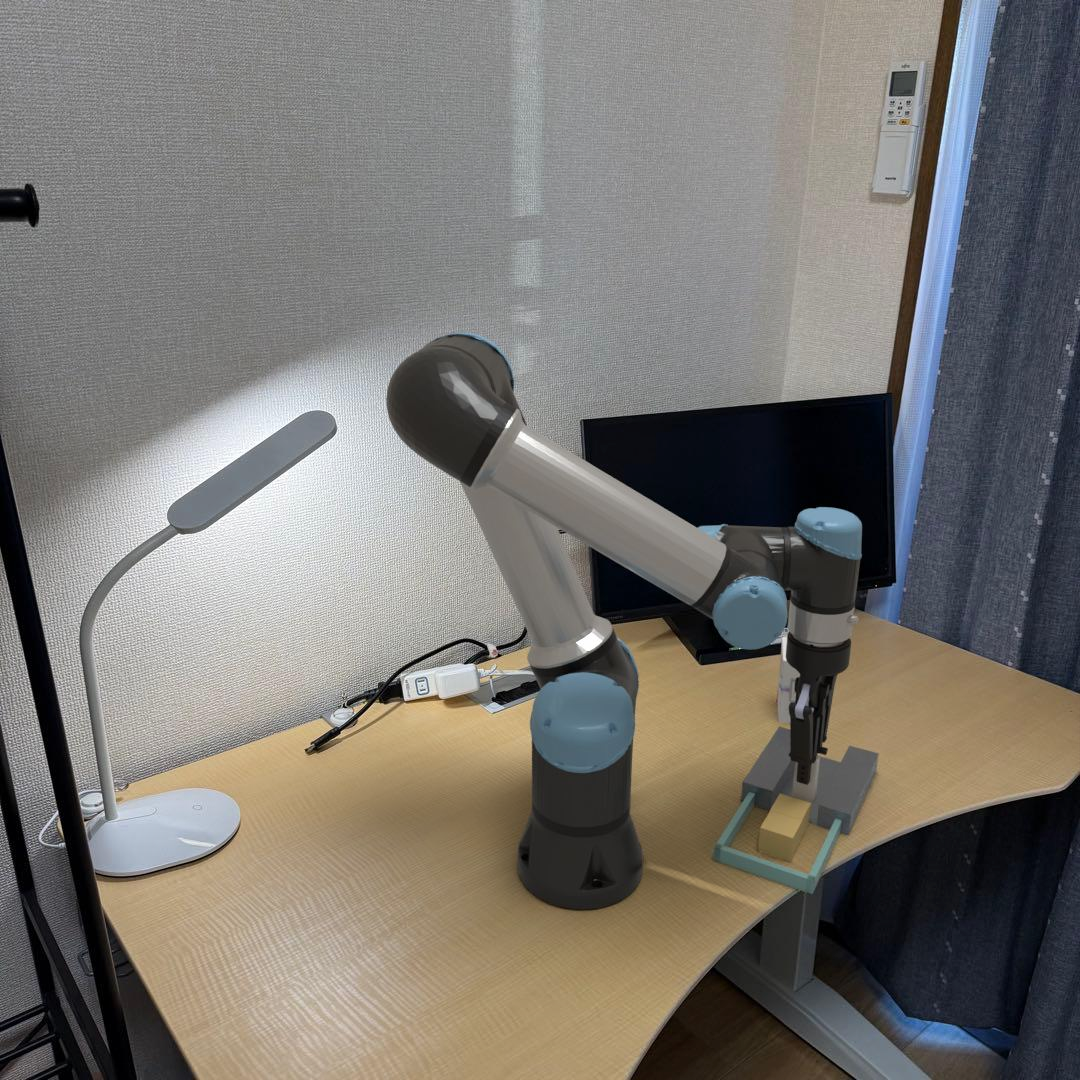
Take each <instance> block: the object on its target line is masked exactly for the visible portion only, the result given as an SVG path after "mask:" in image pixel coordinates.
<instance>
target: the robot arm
mask: <svg viewBox="0 0 1080 1080" xmlns="http://www.w3.org/2000/svg"><path fill="white" fill-rule="evenodd" d="M514 390H515V378H514V373H513V369H512V365H511V363H510V361H509V359H508V358H507V355H506V354H505V352H503V350H502V349H501V348H500V347H499V346H498V345H497V344H496V343H494V342H493V341H492V340H490V339H488V338H486V337H485V336H482V335H479V334H476V333H471V332H455V333H449V334H445V335H443V336H438V337H437V338H435V339H434V340H432V341H429V342H427V343H426V344H425V345H424V346H423V347H422V348H420V349H419V350H417V351H415V352H413V353H412V354H410V355H409V356H407V357H406V358H404V360H402V361H401V363H399V365H398V366H397V368H396V369H395V370H394V371H393V373H392V375H391V377H390V380H389V382H388V385H387V390H386V398H385V400H386V410H387V411H386V412H387V416H388V419H389V422H390V424H391V426H392V428H393V430H394V431H395V433H396V434H397V436H398V437H399V438H400V440H401V441H402V442H403V443H404V444H405V445H406V446H407V447H408V448H409V449H410V450H411V451H413V452H414V453H415V454H416V455H418V456H419V457H420V458H422V459H424V461H426V462H428V463H429V464H430V465H433V466H434V467H436V468H437V469H439V470H440V471H442V472H443V473H445V474H447V475H449V477H452V478H453V479H455V480H457V481H459V484H460V485H461V488H462V490H463V492H464V494H465V496H466V499H467V501H468V503H469V505H470V507H471V509H472V512H473V514H474V516H475V518H476V520H477V523H478V525H479V527H480V529H481V531H482V534H483V535H484V538H485V540H486V542H487V545H488V548H489V549H490V551H491V554H492V556H493V559H494V560H495V563H496V565H497V567H498V570H499V571H500V574H501V576H502V579H503V580H504V582H505V585H506V586H507V589H508V591H509V594H510V596H511V597H512V600H513V602H514V604H515V607H516V609H517V611H518V613H519V616H520V617H521V620H522V622H523V624H524V627H525V629H526V631H527V633H528V636H529V638H530V640H531V642H532V643H531V645H530V648H529V650H528V652H527V656H526V658H527V663H528V664H529V666H530V668H531V671H532V673H533V675H534V678H535V681H536V682H537V684H538V687H539V688H540V690H538V692H537V693H536V696H535V697H534V700H533V703H532V711H531V714H530V720H529V728H530V729H529V730H530V736H531V811H530V814H529V817H528V819H527V822H526V825H525V827H524V830H523V832H522V835H521V838H520V841H519V843H518V845H517V846H518V847H517V873H518V877H519V878H520V881H521V882H522V884H523V886H524V887H525V888H526V889H527V890H528V891H529V892H530V893H531V894H532V895H534V896H535V897H537V898H538V899H540V900H542V901H544V902H546V903H548V904H550V905H553V906H557V907H560V908H563V909H564V908H565V909H572V910H592V909H599V908H603V907H608V906H611V905H613V904H616V903H619V902H620V901H622V900H623V899H625V898H627V897H628V896H629V895H630V894H632V893H633V892H634V891H635V890H636V888H637V887H638V885H639V883H640V881H641V878H642V875H643V864H644V863H643V860H644V859H643V857H644V856H643V855H644V854H643V848H642V844H641V842H640V841H639V840H640V839H639V836H638V834H637V831H636V827H635V825H634V822H633V821H634V820H633V819H632V816H631V800H632V799H631V796H632V793H631V792H632V773H633V769H632V767H633V751H634V749H633V748H634V737H635V732H636V731H635V730H636V707H637V697H638V693H639V688H640V687H639V686H640V685H639V683H640V681H639V677H640V676H639V671H638V667H637V663H636V659H635V657H634V655H633V653H632V651H631V649H630V648H629V647H628V646H627V645H626V643H625V642H624V641H623V640H621V638H620V637H618V636H617V634H616V632H615V629H614V627H613V625H612V623H611V621H610V620H609V619H606V618H604V617H601V616H598V615H596V614H595V612H594V611H593V609H592V606H591V604H590V602H589V598H588V597H587V595H586V591H585V590H584V587H583V585H582V582H581V580H580V578H579V576H578V573H577V571H576V569H575V566H574V564H573V561H572V559H571V557H570V555H569V552H568V550H567V548H566V545H565V543H564V541H563V539H562V536H561V533H560V532H559V529H560V530H561V531H563V532H564V533H566V534H568V535H569V536H571V537H573V538H575V539H576V540H578V541H580V542H581V543H583V544H585V545H587V546H589V547H590V548H592V549H593V550H595V551H597V552H598V553H600V554H602V555H603V556H605V557H607V558H609V559H610V560H612V561H614V562H615V563H617V564H619V565H621V566H622V567H624V568H625V569H627V570H629V571H631V572H633V573H634V574H636V575H637V576H639V577H640V578H643V579H644V580H646V581H648V582H649V583H651V584H653V585H655V586H656V587H658V588H660V589H661V590H663V591H665V592H667V594H670V595H672V596H673V597H675V598H677V599H678V600H680V601H682V602H683V603H685V604H687V605H688V606H690V607H692V608H694V610H697V611H698V612H700V613H702V614H703V615H705V616H706V617H708V618H709V619H711V620H713V625H714V627H715V628H716V629H717V631H718V633H719V635H720V636H721V638H722V639H723V640H724V641H725V642H726V643H727V644H729V645H731V646H733V647H735V648H737V649H743V650H758V649H763V648H766V647H767V646H768V647H769V645H771V644H773V643H774V642H775V641H776V640H777V639H779V637H780V636H782V635H783V632H784V630H785V628H786V626H787V629H788V632H787V636H786V637H787V646H786V660H787V662H788V663H789V665H790V666H792V667H793V668H795V669H796V670H797V671H798V672H799V673H800V677H797V678H796V680H795V688H794V690H795V692H796V700H795V703H793V702H791V703H790V705H789V714H790V723H789V724H790V725H789V727H790V728H789V729H790V753H789V757H790V759H791V761H794V762H795V770H794V781H793V792H792V797H793V798H796V799H799V800H802V801H806V802H809V803H811V805H813V803H814V802H815V800H816V793H817V783H818V773H819V763H820V755H824V756H826V755H827V754H828V751H829V749H828V748H827V747H823V743H826V741H827V740H828V738H827V737H828V736H827V735H828V729H829V728H828V727H829V723H830V716H831V710H832V703H833V699H834V697H833V696H834V691H835V686H836V683H837V682H836V680H837V677H838V675H839V674H841V673H843V672H845V671H846V670H847V669H848V667H849V665H850V659H851V658H850V657H851V647H852V640H851V636H852V634H853V626H854V625H855V624H858V623H859V616H858V615H854V612H855V608H856V607H855V606H856V598H857V588H858V581H859V572H860V566H861V565H860V564H861V560H862V556H863V553H862V539H863V537H862V536H863V524H862V521H861V520H860V518H859V517H858V516H857V515H855V514H854V513H853V512H850V511H848V510H845V509H841V508H836V507H827V506H823V507H822V506H819V507H816V508H811V507H810V508H805V509H803V510H802V511H800V512H799V513H798V515H797V518H796V521H795V523H794V526H786V527H785V526H784V527H778V526H776V527H775V526H774V527H772V526H751V525H750V526H749V525H747V526H745V525H728V524H726V523H723V524H719V525H700V526H698V527H696V526H695V525H693V524H691V523H689V522H688V521H686V520H685V519H683V518H681V517H679V516H678V515H676V514H675V513H673V512H672V511H669V510H668V509H666V508H664V507H663V506H661V505H660V504H658V503H657V502H654V501H653V500H652V499H650V498H648V497H646V496H644V495H643V494H642V493H640V492H638V491H636V490H634V489H633V488H632V487H629V486H628V485H626V484H625V483H623V482H622V481H620V480H618V479H617V478H614V477H613V476H612V475H609V474H608V473H606V472H605V471H603V470H602V469H599V468H598V467H596V466H594V465H593V464H591V463H590V462H588V461H587V460H585V459H583V458H581V457H579V456H578V455H576V454H574V453H573V452H571V451H569V450H568V449H567V448H565V447H562V446H561V445H559V444H558V443H556V442H555V441H553V440H551V439H549V438H548V437H546V436H545V435H543V434H541V433H540V432H538V431H537V430H534V429H533V428H531V427H529V426H528V425H527V422H526V420H525V417H524V415H523V413H522V409H521V407H520V405H519V402H518V400H517V398H516V396H515V394H514ZM785 591H791V592H790V599H789V610H788V600H787V594H786V592H785ZM818 754H820V755H818Z"/></svg>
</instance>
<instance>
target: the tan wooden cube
mask: <svg viewBox="0 0 1080 1080" xmlns="http://www.w3.org/2000/svg"><path fill="white" fill-rule="evenodd" d="M801 827H802V820H800V819H797V818H794V817H790V816H787V815H784V814H781V813H778V812H775V811H771V810H770V811H769V812H768V814H767V815H766V817H765V819H764V820H763V822H762V824H761V825H760V827H759V837H758V848H757V852H760V853H763V854H765V855H768V856H771V857H773V858H774V857H775V858H777V859H781V860H784V861H786V862H788V863H789V862H792V859H793V858H794V855H795V853H796V852H797V849H798V848H799V846H800V842H801V841H800V836H801Z"/></svg>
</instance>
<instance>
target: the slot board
mask: <svg viewBox="0 0 1080 1080" xmlns="http://www.w3.org/2000/svg"><path fill="white" fill-rule="evenodd" d="M789 753H790V728H786V727H782V726H778V727H777V729H776V731H775V732H774V733H773V735H772V737H771V738H770V739H769V741H768V742H767V744H766V746H765V747H764V749H763V751H762V752H761V753H760V755H759V757H758V758H757V759H756V760H755V763H754V764H753V765H752V767H751V769H750V770H749V772H748V773H747V774H746V776H745V777H744V779H743V781H742V786H741V795H740V802H741V803H743V801H744V799H745V798H746V796H747V795H748V793H749V792H751V793H754V794H755V802H754V807H756V808H760V809H763V810H766V811H769V812H770V809H771V808H772V806H773V804H774V803H775V801H776V799H777V797H778V796H779V794H783V795H786V796H789V797H792V792H793V781H794V770H795V762H794V761H791V759H790V757H789ZM879 755H880V754H879V753H878V752H874V751H871V750H868V749H864V748H859V747H856V746H853V745H848V747H847V750H846V752H845V753H844V755H843V757H842V759H841V761H838V760H835V759H830V758H827V757H824V756H820V755H819V756H820V763H819V773H818V783H817V793H816V800H815V802H814V803H813V805H811V807H810V815H809V824H810V825H811V824H812V825H814V826H817V827H820V828H824V829H828V830H830V829H831V827H832V825H833V823H834V820H835V818H836V819H839V820H842V823H841V831H840V834H843V835H846V836H849V835H850V833H851V831H852V828H853V826H854V824H855V821H856V819H857V816H858V815H859V812H860V810H861V807H862V805H863V803H864V801H865V798H866V796H867V795H868V792H869V789H870V788H871V784H872V783H873V780H874V778H875V775H876V773H877V769H878V763H879V762H878V761H879Z"/></svg>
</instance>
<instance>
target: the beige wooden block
mask: <svg viewBox="0 0 1080 1080" xmlns="http://www.w3.org/2000/svg"><path fill="white" fill-rule="evenodd" d="M810 807H811V803H809V802H806V801H802V800H799V799H796V798H793V797H789V796H786V795H783V794H779V796H778V797H777V799H776V801H775V803H774V804H773V806H772V808H771V809H770V810H771V811H775V812H778V813H781V814H784V815H787V816H790V817H794V818H797V819H800V820H802V827H801V836H800V842H801V841H802V839H803V837H804V835H805V833H806V831H807V830H808V827H809V824H810V823H809V815H810Z"/></svg>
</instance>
